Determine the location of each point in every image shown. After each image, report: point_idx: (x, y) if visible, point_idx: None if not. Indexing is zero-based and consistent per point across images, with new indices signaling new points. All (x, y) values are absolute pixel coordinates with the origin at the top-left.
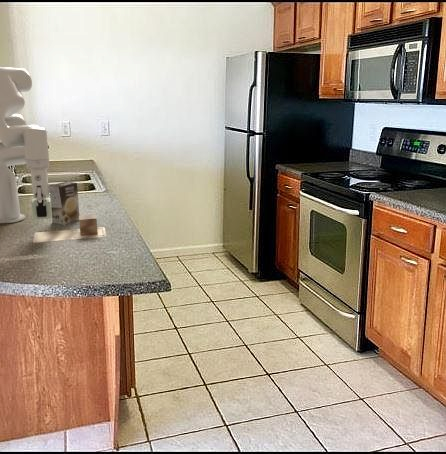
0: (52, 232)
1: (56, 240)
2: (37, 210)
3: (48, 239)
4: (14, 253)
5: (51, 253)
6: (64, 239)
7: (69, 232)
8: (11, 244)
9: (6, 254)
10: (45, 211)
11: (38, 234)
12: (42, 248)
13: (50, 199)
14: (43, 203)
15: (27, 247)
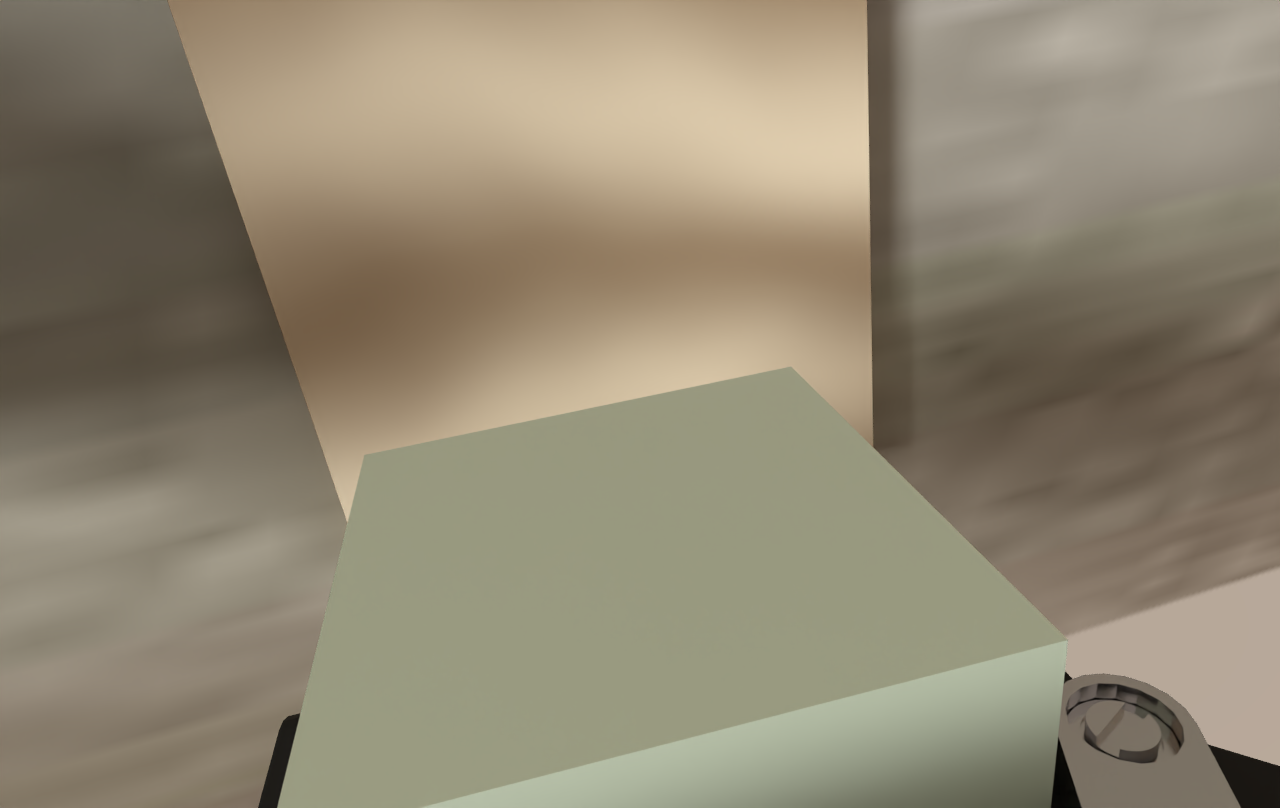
0: (371, 327)
1: (855, 165)
2: None
3: (770, 301)
4: (1084, 556)
5: (1267, 143)
6: (833, 34)
7: (385, 5)
8: None
9: (1085, 615)
10: None
11: None
12: (1014, 307)
13: (419, 771)
14: (1198, 774)
15: None
